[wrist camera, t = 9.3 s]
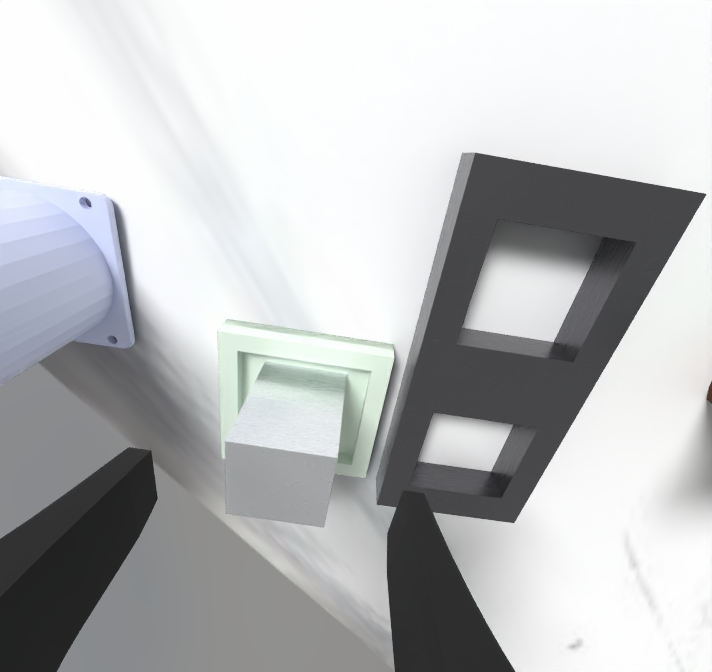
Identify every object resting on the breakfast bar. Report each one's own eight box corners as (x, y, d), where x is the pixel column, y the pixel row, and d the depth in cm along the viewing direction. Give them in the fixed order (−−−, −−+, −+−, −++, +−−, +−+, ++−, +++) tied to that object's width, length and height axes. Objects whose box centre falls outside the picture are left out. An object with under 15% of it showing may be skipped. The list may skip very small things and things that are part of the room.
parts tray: (229, 442, 23) (221, 458, 22) (227, 318, 19) (217, 330, 17) (365, 461, 23) (365, 478, 22) (392, 344, 19) (394, 357, 18)
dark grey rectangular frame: (376, 478, 24) (376, 504, 22) (462, 152, 15) (475, 152, 13) (503, 495, 24) (514, 523, 22) (666, 189, 15) (706, 193, 13)
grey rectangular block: (262, 423, 21) (225, 513, 16) (265, 361, 19) (224, 441, 14) (335, 434, 21) (323, 527, 16) (346, 373, 19) (337, 458, 14)
